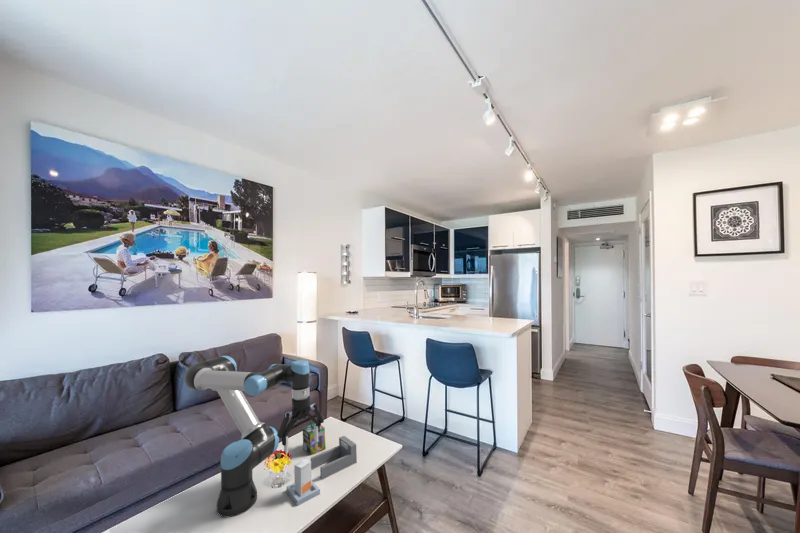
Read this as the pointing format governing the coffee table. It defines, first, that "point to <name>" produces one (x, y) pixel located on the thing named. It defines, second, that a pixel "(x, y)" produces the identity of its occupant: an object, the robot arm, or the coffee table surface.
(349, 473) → the coffee table surface
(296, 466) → the skincare box
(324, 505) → the coffee table surface
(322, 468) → the dock
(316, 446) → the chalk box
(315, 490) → the tray
